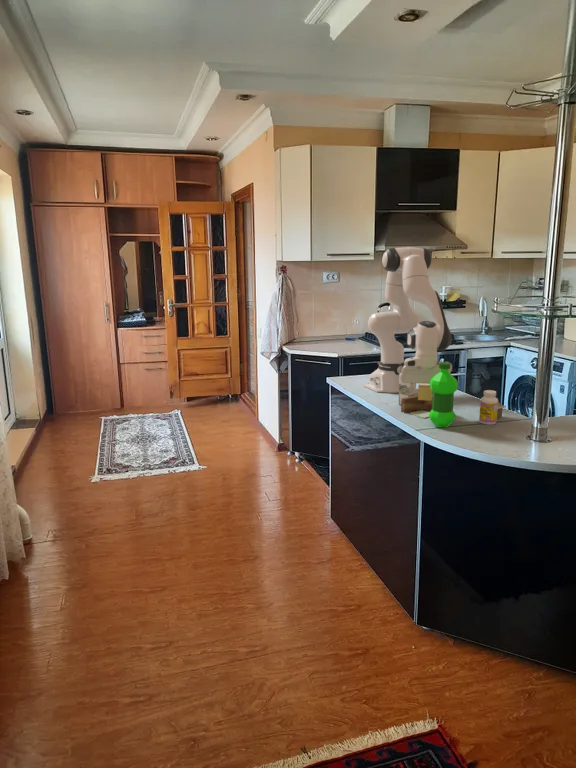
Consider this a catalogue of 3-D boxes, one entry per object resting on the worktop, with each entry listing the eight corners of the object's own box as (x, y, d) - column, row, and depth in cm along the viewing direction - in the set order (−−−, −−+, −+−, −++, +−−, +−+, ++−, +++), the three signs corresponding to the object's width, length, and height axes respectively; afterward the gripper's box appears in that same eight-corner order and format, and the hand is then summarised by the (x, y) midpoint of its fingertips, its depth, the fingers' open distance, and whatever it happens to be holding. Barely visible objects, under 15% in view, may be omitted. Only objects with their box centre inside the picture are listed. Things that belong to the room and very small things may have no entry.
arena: (400, 411, 241) (401, 398, 239) (423, 407, 247) (424, 393, 246) (427, 420, 228) (427, 406, 226) (450, 415, 234) (451, 401, 233)
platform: (465, 416, 234) (466, 401, 232) (500, 411, 240) (501, 397, 238) (483, 424, 223) (485, 408, 221) (520, 419, 229) (521, 404, 227)
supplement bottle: (475, 422, 225) (477, 391, 222) (485, 419, 229) (487, 388, 226) (490, 426, 219) (492, 394, 216) (499, 422, 223) (502, 391, 220)
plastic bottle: (444, 431, 214) (447, 367, 208) (422, 424, 223) (425, 363, 217) (460, 426, 220) (464, 363, 214) (439, 420, 228) (442, 359, 223)
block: (418, 396, 237) (418, 384, 236) (431, 397, 236) (432, 384, 235) (418, 400, 232) (418, 387, 231) (431, 400, 231) (432, 387, 230)
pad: (410, 413, 237) (410, 413, 237) (423, 410, 241) (423, 410, 241) (423, 418, 231) (423, 417, 231) (437, 415, 235) (437, 414, 235)
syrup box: (416, 404, 252) (417, 373, 248) (409, 407, 247) (410, 375, 244) (404, 402, 255) (406, 371, 252) (397, 405, 251) (398, 373, 248)
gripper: (452, 360, 231) (450, 392, 234) (401, 359, 236) (400, 391, 239) (452, 363, 225) (451, 396, 228) (401, 361, 230) (400, 394, 233)
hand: (424, 393), depth 234 cm, fingers closed on block, 5 cm apart
